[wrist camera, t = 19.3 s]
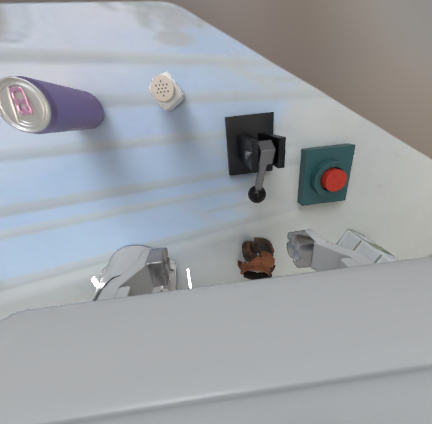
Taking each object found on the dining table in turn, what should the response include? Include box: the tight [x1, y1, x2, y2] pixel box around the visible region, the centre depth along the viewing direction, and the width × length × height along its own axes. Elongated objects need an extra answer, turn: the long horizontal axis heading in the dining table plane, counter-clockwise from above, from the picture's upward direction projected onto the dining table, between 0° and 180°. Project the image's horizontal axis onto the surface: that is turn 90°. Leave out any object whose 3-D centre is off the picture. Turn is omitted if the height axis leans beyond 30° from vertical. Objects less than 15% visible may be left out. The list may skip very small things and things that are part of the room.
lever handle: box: [248, 140, 276, 203], centre depth 36 cm, size 13×3×3 cm, turn 6°
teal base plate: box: [298, 144, 355, 206], centre depth 43 cm, size 12×10×4 cm
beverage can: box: [0, 76, 103, 134], centre depth 29 cm, size 6×6×15 cm
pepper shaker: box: [149, 72, 185, 111], centre depth 32 cm, size 4×4×10 cm
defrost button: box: [321, 168, 347, 192], centre depth 41 cm, size 4×4×2 cm
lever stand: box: [225, 112, 286, 175], centre depth 36 cm, size 11×9×12 cm
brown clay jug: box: [238, 238, 275, 280], centre depth 50 cm, size 12×9×8 cm
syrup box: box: [337, 230, 399, 264], centre depth 47 cm, size 6×6×14 cm
